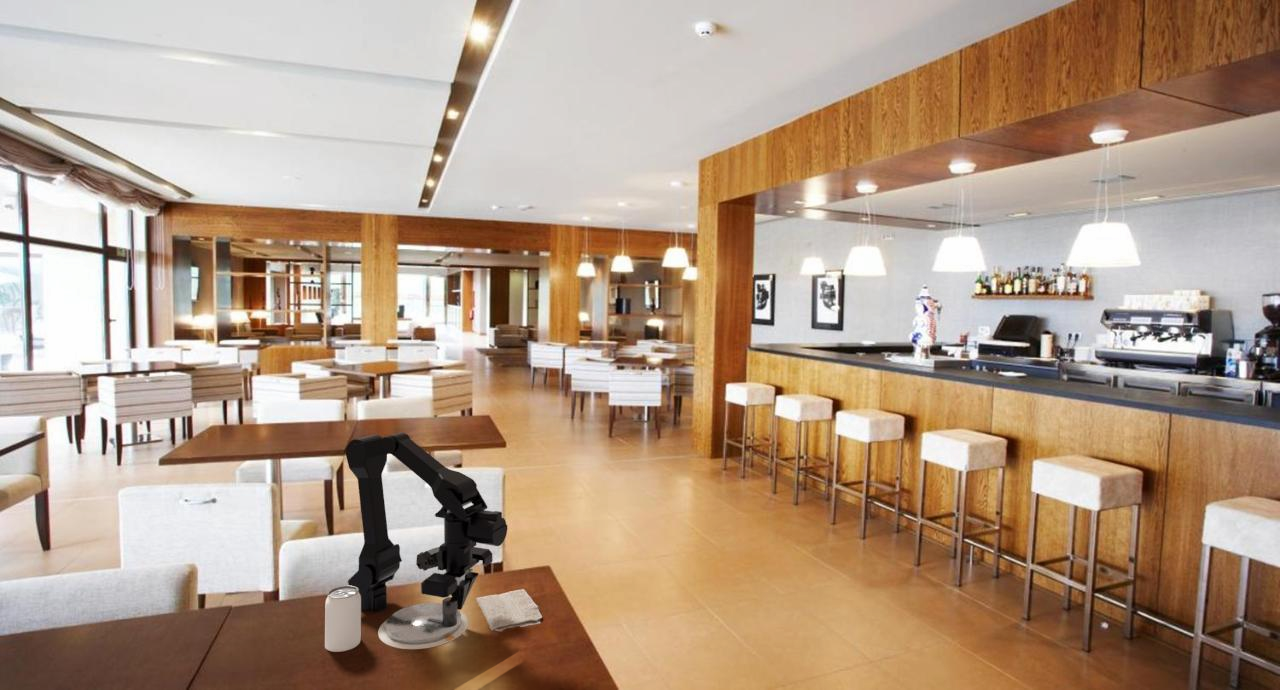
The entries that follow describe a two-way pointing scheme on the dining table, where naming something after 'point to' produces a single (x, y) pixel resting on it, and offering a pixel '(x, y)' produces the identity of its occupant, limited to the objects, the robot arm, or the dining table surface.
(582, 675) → the dining table surface
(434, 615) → the dial
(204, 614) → the dining table surface
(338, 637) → the can
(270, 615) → the dining table surface
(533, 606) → the washcloth
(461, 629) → the dial base
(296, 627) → the dining table surface
